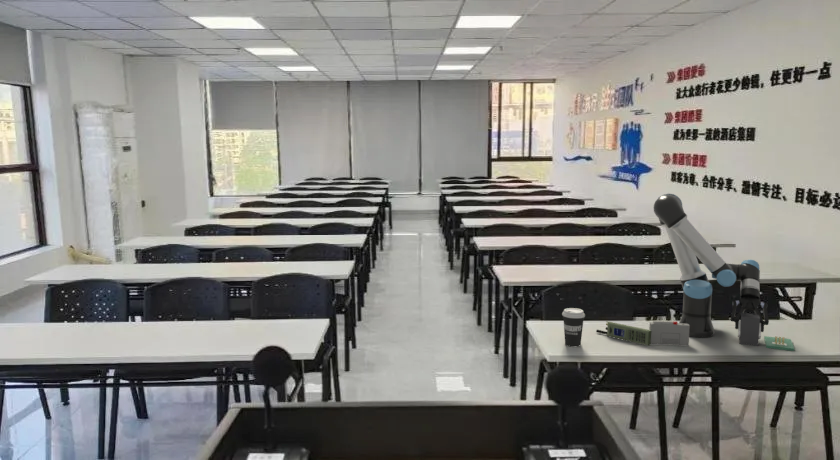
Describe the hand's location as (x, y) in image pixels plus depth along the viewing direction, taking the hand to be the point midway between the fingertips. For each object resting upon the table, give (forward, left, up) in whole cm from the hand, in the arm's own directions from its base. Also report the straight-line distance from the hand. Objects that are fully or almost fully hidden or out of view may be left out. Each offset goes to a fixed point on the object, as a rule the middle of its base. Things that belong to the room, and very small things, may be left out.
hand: (749, 336), depth 255 cm
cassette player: (-31, -13, -4) cm, 34 cm away
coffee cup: (-68, -31, -4) cm, 75 cm away
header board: (+11, +6, -4) cm, 14 cm away
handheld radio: (-50, -14, -4) cm, 52 cm away
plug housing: (0, +3, -4) cm, 5 cm away
